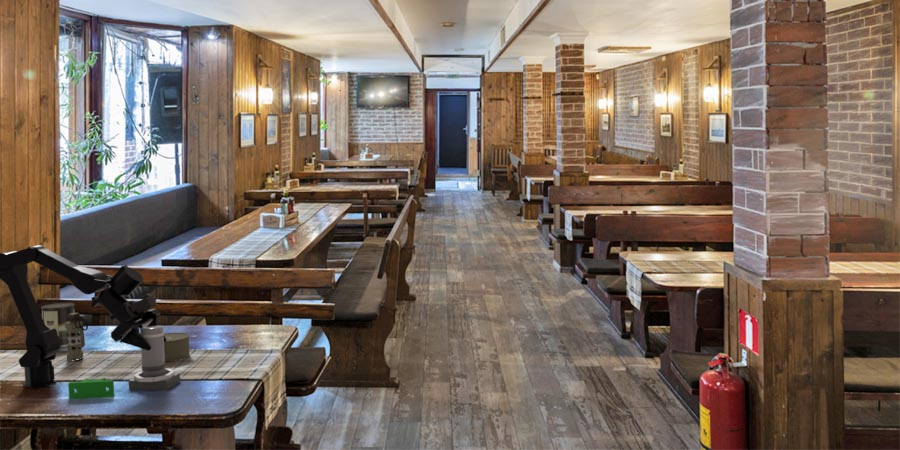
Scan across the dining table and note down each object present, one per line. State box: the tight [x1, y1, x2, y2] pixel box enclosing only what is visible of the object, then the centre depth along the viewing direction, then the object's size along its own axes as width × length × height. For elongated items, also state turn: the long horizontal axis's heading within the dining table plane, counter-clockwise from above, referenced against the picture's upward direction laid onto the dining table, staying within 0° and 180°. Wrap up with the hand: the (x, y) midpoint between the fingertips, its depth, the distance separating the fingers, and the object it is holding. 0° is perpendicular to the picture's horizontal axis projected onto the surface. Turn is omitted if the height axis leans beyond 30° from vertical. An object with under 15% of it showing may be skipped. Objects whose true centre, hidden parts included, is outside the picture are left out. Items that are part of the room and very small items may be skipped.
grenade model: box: [65, 312, 90, 361], centre depth 235 cm, size 6×7×15 cm
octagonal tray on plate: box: [128, 367, 181, 391], centre depth 205 cm, size 11×10×4 cm
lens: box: [139, 325, 166, 377], centre depth 204 cm, size 6×6×14 cm
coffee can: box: [40, 302, 76, 348], centre depth 254 cm, size 10×10×14 cm
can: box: [164, 332, 191, 362], centre depth 236 cm, size 12×12×7 cm
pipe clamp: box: [67, 377, 115, 400], centre depth 196 cm, size 11×4×5 cm, turn 97°
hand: (157, 345), depth 204 cm, fingers open, 9 cm apart
